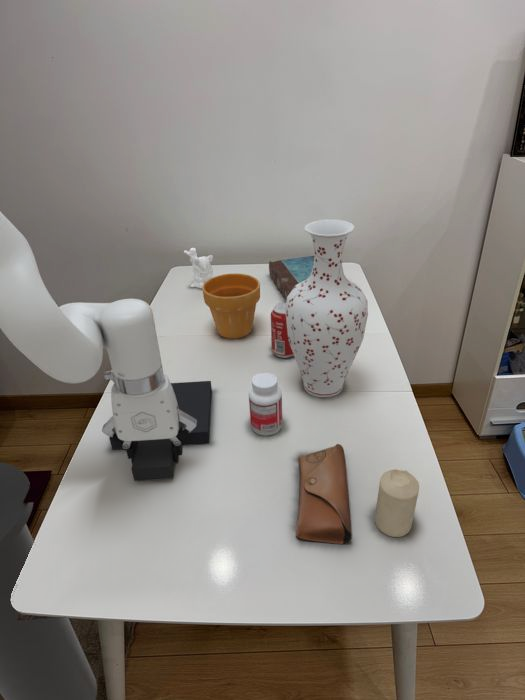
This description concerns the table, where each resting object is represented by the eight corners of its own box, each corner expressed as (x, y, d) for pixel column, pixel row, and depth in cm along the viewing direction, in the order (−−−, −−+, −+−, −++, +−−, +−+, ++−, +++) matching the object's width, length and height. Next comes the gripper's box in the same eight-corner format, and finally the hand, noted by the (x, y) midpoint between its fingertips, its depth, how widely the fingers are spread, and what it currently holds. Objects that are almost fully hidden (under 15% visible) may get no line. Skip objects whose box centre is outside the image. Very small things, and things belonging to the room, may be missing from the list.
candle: (367, 519, 75) (372, 473, 70) (391, 502, 78) (398, 456, 73) (394, 544, 72) (403, 497, 66) (419, 524, 74) (428, 478, 69)
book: (269, 276, 155) (268, 261, 152) (321, 269, 158) (321, 254, 156) (289, 307, 136) (289, 291, 134) (348, 298, 140) (349, 283, 137)
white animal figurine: (185, 290, 148) (180, 252, 142) (191, 280, 154) (186, 244, 148) (212, 290, 147) (209, 253, 141) (217, 281, 153) (214, 244, 147)
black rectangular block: (134, 481, 82) (131, 468, 81) (145, 431, 93) (142, 419, 91) (173, 478, 82) (170, 466, 81) (179, 429, 93) (177, 417, 91)
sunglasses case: (295, 453, 87) (315, 429, 84) (328, 468, 89) (349, 445, 85) (294, 540, 72) (318, 515, 69) (334, 557, 73) (360, 533, 70)
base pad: (112, 449, 90) (108, 437, 89) (127, 397, 104) (125, 385, 102) (209, 443, 91) (207, 431, 89) (212, 392, 104) (210, 380, 103)
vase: (298, 415, 97) (299, 247, 78) (277, 370, 110) (274, 218, 92) (373, 401, 100) (391, 236, 81) (344, 359, 113) (354, 209, 94)
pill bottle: (265, 411, 98) (263, 366, 92) (288, 424, 95) (288, 378, 89) (244, 427, 94) (240, 381, 89) (267, 441, 91) (265, 394, 85)
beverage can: (303, 351, 117) (303, 306, 110) (286, 362, 113) (286, 317, 106) (283, 342, 120) (282, 299, 114) (266, 353, 117) (264, 308, 110)
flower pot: (198, 340, 123) (193, 294, 116) (218, 314, 134) (214, 270, 127) (252, 347, 119) (249, 300, 112) (268, 320, 130) (266, 275, 123)
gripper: (77, 394, 73) (102, 478, 82) (193, 386, 73) (204, 471, 83) (89, 366, 79) (111, 447, 89) (196, 359, 80) (206, 440, 89)
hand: (156, 458), depth 86 cm, fingers closed on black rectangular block, 6 cm apart
